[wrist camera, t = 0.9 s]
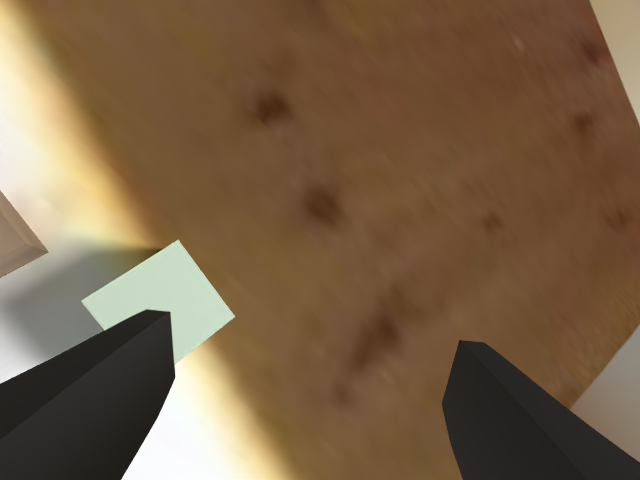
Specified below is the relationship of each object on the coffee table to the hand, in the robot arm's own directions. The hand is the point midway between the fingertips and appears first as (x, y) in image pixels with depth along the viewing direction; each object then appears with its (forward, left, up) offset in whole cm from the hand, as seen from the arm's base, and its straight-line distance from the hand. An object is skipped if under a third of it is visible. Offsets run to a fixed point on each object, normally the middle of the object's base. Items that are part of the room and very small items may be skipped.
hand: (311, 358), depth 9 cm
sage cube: (-2, +3, -13) cm, 14 cm away
